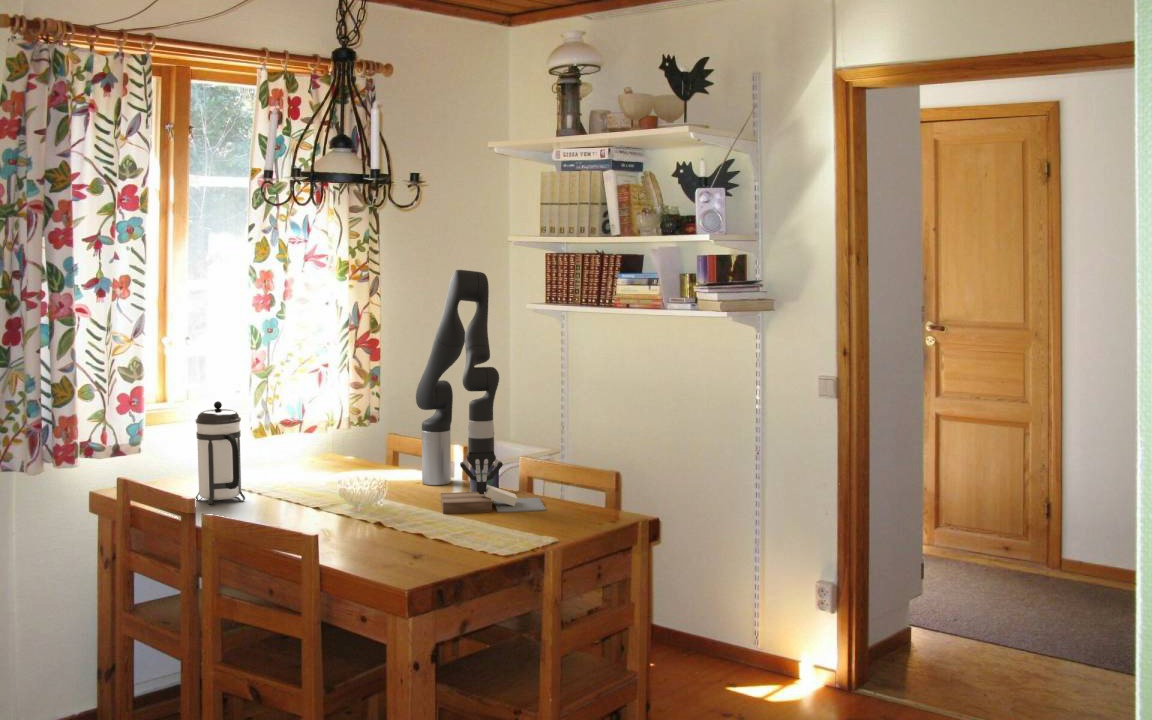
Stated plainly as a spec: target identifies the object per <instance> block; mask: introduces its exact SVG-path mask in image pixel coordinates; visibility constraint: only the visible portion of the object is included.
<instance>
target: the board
mask: <svg viewBox="0 0 1152 720" xmlns="http://www.w3.org/2000/svg"><path fill="white" fill-rule="evenodd" d="M440 504H441V510H442V514H466V513H471V514H472V513H493V499H491V498H488V497H486V496H485V494H479V493H478V492H470V491H463V492H461V491H460V492H459V491H458V492H440Z"/></svg>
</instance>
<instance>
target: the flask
mask: <svg viewBox="0 0 1152 720" xmlns="http://www.w3.org/2000/svg"><path fill="white" fill-rule="evenodd" d="M494 463H495V462H493V464H492V465H491V467H490V468H489V469H488V470H487V475H489V473H490V472H491V471H492V469H493V468H494V467H495V466H494ZM469 470H470V471H471V472H472V474H473V475H475V476H476V471H475V469H474V468H473V467H472V466H471V465H470V466H469ZM480 475H481V481H482V469H481V470H480ZM487 485H490V486H493V487H495V488H498V489H500V470H499V471H498V472H497V473H496V475H495V476H494V477H493V478H492V479H490V480H488V481H487ZM469 492H477V482H476V481H475V480H471V479H470V478H469Z"/></svg>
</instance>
